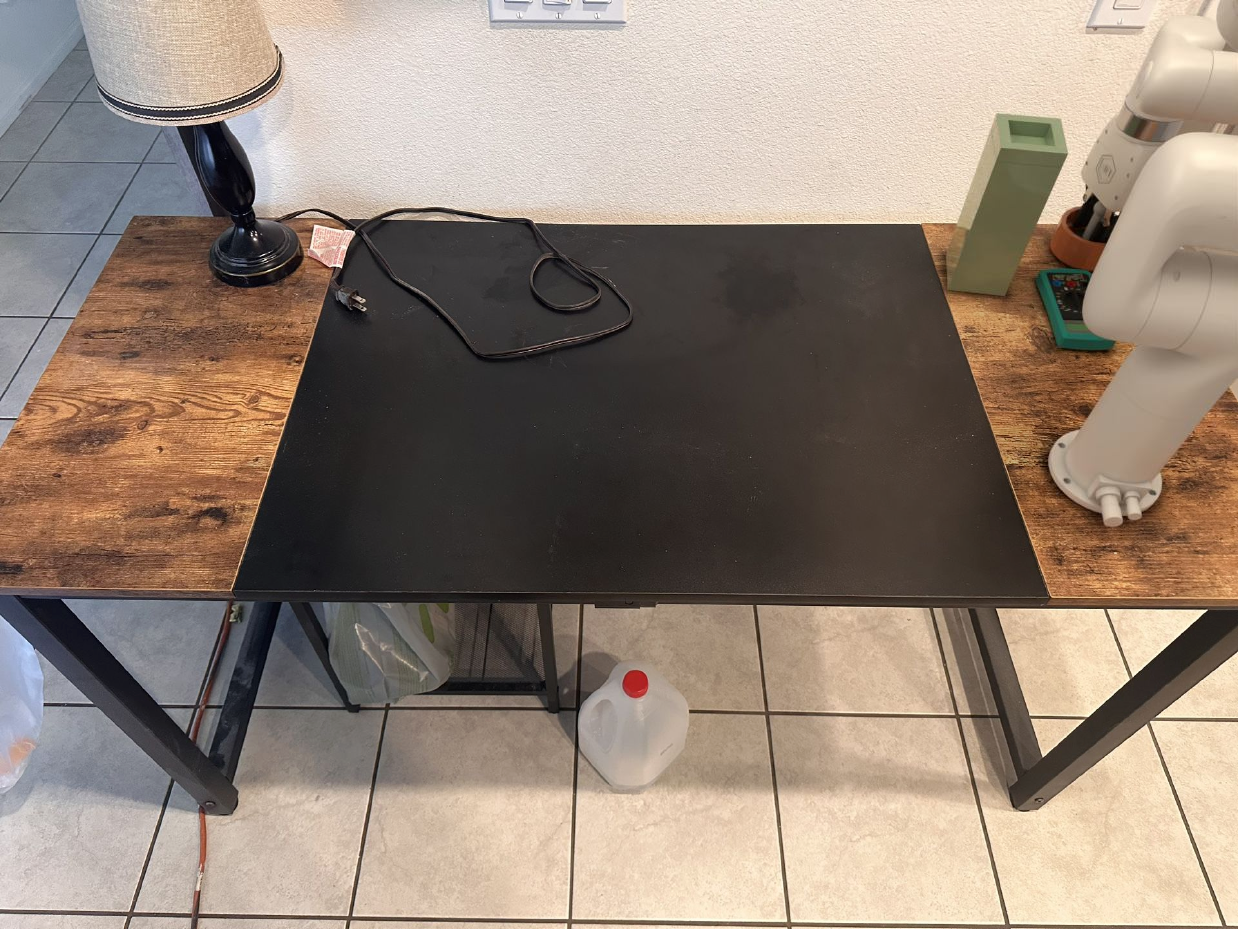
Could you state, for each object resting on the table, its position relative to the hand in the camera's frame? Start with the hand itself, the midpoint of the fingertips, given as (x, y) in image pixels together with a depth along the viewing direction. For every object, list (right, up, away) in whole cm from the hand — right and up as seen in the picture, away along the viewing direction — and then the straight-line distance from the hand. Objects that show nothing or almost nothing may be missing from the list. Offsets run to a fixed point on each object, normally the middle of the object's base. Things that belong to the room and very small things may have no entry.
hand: (1090, 233), depth 126 cm
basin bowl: (0, -2, +3) cm, 3 cm away
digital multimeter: (-6, -13, -5) cm, 15 cm away
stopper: (0, -2, +2) cm, 3 cm away
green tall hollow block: (-17, -6, 0) cm, 18 cm away
